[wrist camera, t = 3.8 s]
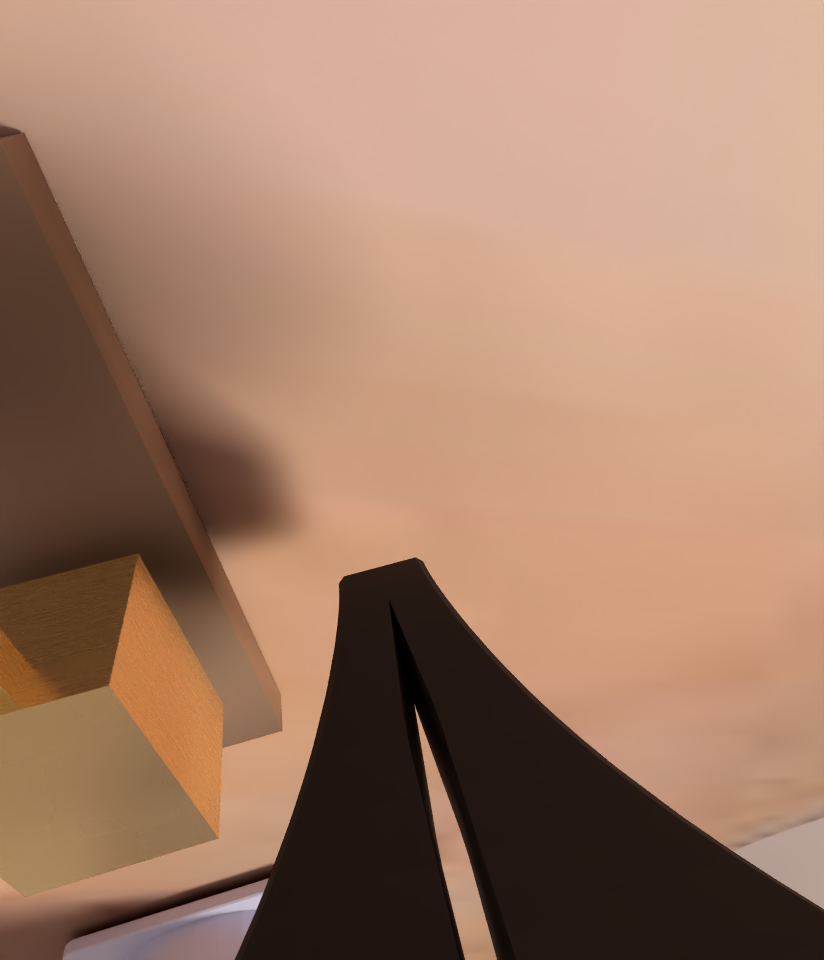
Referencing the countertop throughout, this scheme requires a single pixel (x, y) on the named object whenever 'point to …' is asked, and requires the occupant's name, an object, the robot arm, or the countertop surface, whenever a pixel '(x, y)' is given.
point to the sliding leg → (101, 728)
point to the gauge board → (100, 451)
